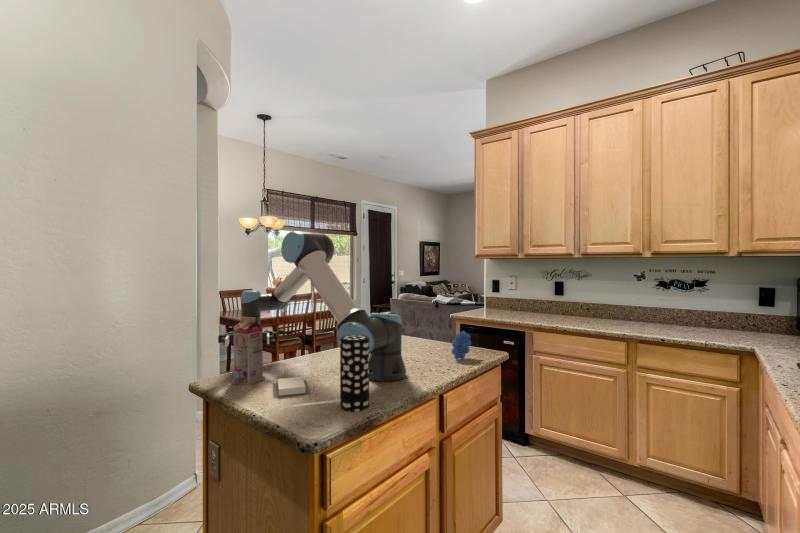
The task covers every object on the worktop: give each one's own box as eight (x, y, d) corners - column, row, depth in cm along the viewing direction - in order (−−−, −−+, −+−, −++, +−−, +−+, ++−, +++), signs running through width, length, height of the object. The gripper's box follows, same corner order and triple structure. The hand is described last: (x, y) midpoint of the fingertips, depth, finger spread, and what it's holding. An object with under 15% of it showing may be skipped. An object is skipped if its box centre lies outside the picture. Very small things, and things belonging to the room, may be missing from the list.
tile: (277, 379, 128) (278, 389, 118) (302, 376, 131) (305, 386, 120) (277, 385, 128) (278, 396, 118) (302, 383, 131) (305, 393, 120)
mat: (273, 385, 131) (273, 383, 131) (306, 381, 134) (306, 380, 134) (273, 399, 117) (273, 397, 117) (310, 395, 120) (310, 394, 120)
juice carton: (247, 383, 130) (247, 318, 130) (233, 380, 133) (233, 317, 133) (262, 378, 136) (262, 316, 136) (248, 375, 139) (248, 315, 138)
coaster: (270, 378, 139) (270, 375, 139) (254, 387, 128) (254, 385, 128) (242, 376, 140) (242, 374, 140) (224, 386, 130) (224, 383, 130)
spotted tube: (371, 409, 109) (371, 339, 109) (342, 413, 106) (342, 341, 106) (365, 399, 117) (365, 334, 117) (338, 402, 114) (338, 335, 114)
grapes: (463, 354, 174) (463, 328, 174) (474, 357, 169) (474, 330, 169) (445, 358, 167) (445, 331, 167) (456, 361, 162) (456, 333, 162)
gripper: (282, 338, 158) (284, 349, 138) (215, 342, 149) (207, 355, 129) (282, 320, 158) (284, 328, 138) (215, 323, 149) (207, 332, 129)
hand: (247, 341), depth 133 cm, fingers open, 13 cm apart
